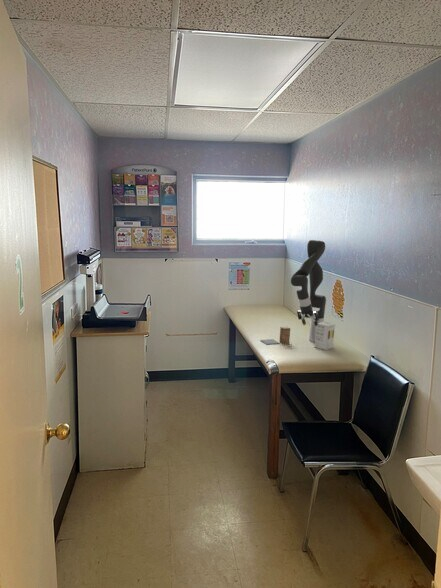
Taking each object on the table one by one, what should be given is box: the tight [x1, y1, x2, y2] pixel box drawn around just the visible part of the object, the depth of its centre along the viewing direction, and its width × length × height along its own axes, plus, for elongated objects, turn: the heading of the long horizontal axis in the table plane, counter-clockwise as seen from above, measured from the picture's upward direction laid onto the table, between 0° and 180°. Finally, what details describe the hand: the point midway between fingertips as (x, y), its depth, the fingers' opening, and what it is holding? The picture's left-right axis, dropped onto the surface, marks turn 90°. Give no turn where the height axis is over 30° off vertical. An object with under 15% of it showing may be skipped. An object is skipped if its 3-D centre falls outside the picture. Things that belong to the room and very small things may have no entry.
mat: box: [260, 338, 280, 345], centre depth 306 cm, size 10×10×1 cm
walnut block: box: [279, 326, 291, 345], centre depth 306 cm, size 5×5×11 cm
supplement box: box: [314, 321, 336, 351], centre depth 297 cm, size 10×9×17 cm
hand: (310, 325), depth 286 cm, fingers open, 8 cm apart
